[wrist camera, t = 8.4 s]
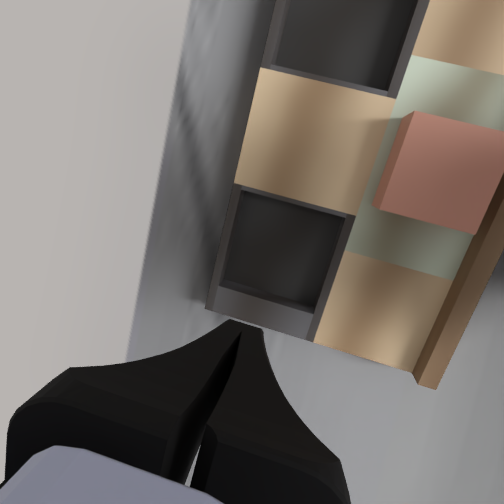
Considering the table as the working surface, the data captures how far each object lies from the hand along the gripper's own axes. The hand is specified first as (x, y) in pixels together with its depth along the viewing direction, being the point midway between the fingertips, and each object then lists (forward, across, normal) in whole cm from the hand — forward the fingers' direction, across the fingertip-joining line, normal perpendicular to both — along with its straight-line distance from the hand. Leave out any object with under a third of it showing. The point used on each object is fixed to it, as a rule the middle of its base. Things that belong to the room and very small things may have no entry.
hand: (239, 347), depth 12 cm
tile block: (+8, -7, -8) cm, 13 cm away
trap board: (+9, -4, -8) cm, 13 cm away
